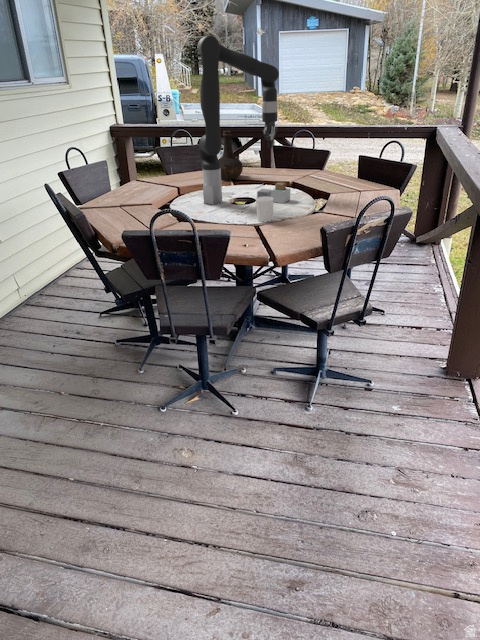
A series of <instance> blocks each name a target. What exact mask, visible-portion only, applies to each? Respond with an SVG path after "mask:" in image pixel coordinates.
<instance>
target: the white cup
mask: <svg viewBox="0 0 480 640" xmlns="http://www.w3.org/2000/svg"><path fill="white" fill-rule="evenodd" d="M255 205H256V217H257V219H256V220H257V221H258V220H259V221H270V222H272V221H273V214H274V202H273V198H272V197H267V196H263V197H258V198H257V197H256V198H255ZM271 220H272V221H271ZM259 221H258V222H259Z"/></svg>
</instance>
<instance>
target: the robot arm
mask: <svg viewBox="0 0 480 640" xmlns="http://www.w3.org/2000/svg"><path fill="white" fill-rule="evenodd" d="M197 52H198V53H199V55H200V56H201V63H202V73H201V74H202V75H201V82H200V90H199V91H200V92H199V96H200V97H199V98H200V99H199V100H200V103H199V104H200V109H201V114H202V116H203V120H204V126H205V134H204V135H202V136H201V137H200V139H199V143H198V148H199V149H198V150H199V158H200V163H201V168H202V179H203V180H202V182H203V185H202V191H203V193H202V194H203V195H202V197H203V204H204V203H208V204H207V205H211V204H214V205H219V204H222V203H223V188H222V179H221V166H220V162H219V160H218V159H219V158H218V154H220V152H221V151H222V147H223V144H222V142H223V141H222V135H221V118H220V117H221V114H220V113H221V112H220V111H221V110H220V109H221V98H220V97H221V93H220V92H221V91H220V90H221V89H220V76H219V75H220V74H219V69H220V68H219V67H220V65H219V63H220V62H221V63H223V64H225V65H229V66H231V67H233V68H235V69H237V70H240V71H241V72H244V73H246V74H249V75H250V76H253V77H254V76H255V77H258V78H260V81H261V89H262V106H261V107H262V108H261V111H262V114H261V115H262V116H261V118H262V119H261V121H262V122H263V123H264V129H262V130H261V132H262V134H263V137H264V139H265V140H266V141H267V149H273V141H274V139H275V138H276V134H277V131H278V126H276V122H277V121H278V90H277V88H276V83H275V82H276V81H277V80H278V79H279V76H280V75H279V74H280V73H279V70H278V68H277V67H276V66H274V65H273V64H272V65H271V64H269V63H267V62H263V61H260V60H258V59H257V58H255V57H252V56H250V55H248V54H245V53H242V52H239V51H236V50H233V49H230V48H228V47H226V46H224V45H222V44H220V42H219V39H217V38H216V36H214V35H212V34H211V35H204V36H203V37H201V38H200V39H199V41H198V43H197ZM221 202H222V203H221ZM218 203H219V204H218Z"/></svg>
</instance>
